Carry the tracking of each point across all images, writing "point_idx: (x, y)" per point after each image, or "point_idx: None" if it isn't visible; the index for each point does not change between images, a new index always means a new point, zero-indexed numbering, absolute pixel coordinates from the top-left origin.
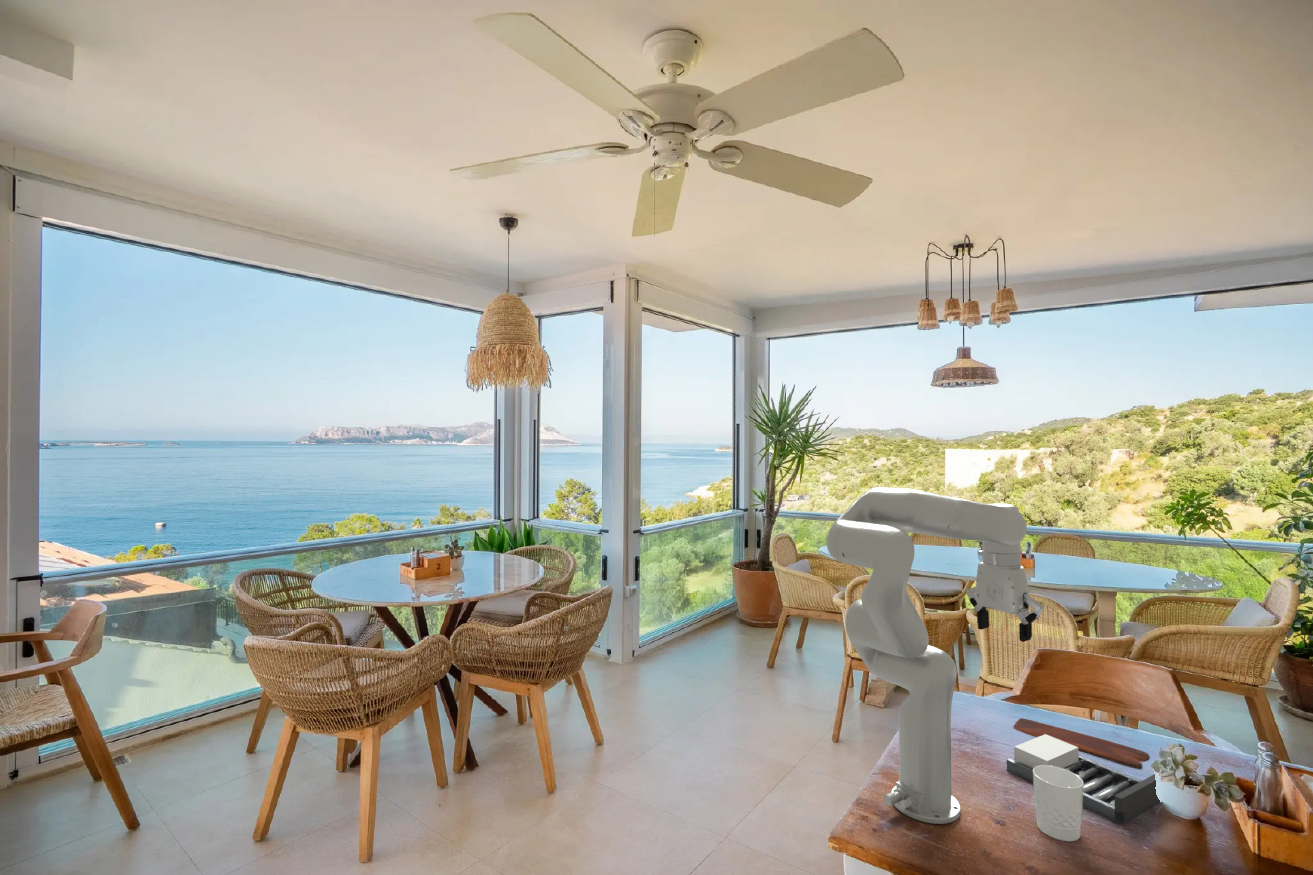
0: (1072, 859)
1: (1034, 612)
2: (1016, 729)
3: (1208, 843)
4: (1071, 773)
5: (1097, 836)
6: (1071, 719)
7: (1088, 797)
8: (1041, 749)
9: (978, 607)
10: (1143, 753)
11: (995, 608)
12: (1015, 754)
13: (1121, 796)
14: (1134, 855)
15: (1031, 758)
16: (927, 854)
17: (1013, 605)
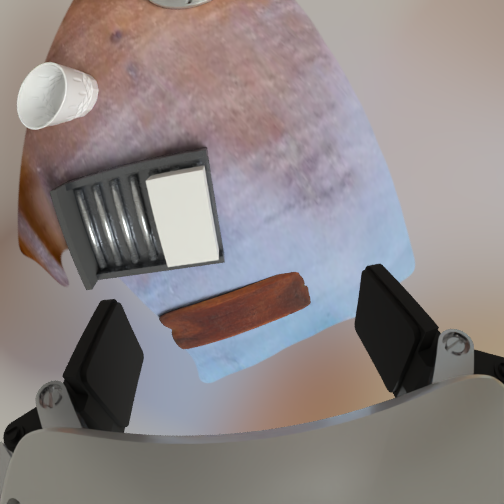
0: None
1: (7, 455)
2: (293, 272)
3: (38, 238)
4: (40, 126)
5: (59, 133)
6: (277, 349)
7: (89, 176)
8: (178, 206)
9: (453, 360)
10: (180, 344)
11: (250, 445)
12: (201, 167)
13: (53, 196)
14: (32, 145)
15: (173, 173)
16: None
17: (19, 494)
